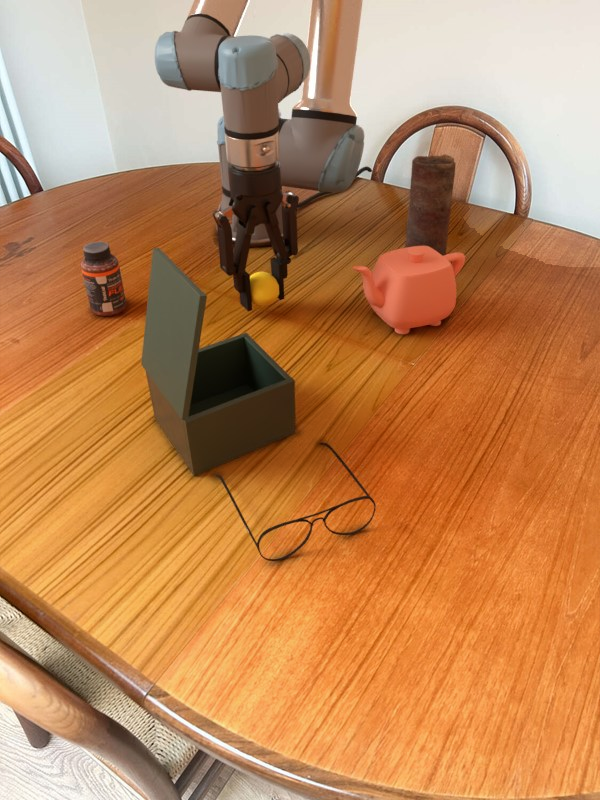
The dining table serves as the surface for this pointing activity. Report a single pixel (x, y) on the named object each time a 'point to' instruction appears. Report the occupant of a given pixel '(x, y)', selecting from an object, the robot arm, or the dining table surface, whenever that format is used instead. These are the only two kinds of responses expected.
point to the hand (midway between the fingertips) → (262, 301)
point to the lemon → (263, 288)
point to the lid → (172, 331)
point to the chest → (229, 405)
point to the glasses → (306, 516)
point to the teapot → (412, 286)
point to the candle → (430, 202)
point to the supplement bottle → (102, 280)
